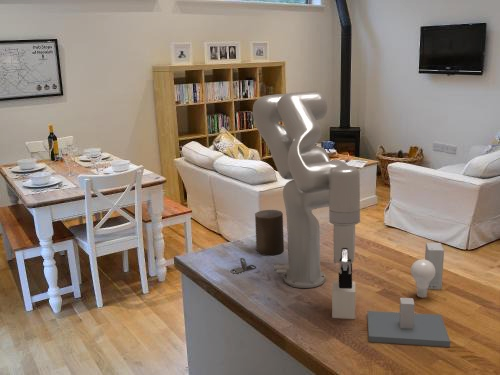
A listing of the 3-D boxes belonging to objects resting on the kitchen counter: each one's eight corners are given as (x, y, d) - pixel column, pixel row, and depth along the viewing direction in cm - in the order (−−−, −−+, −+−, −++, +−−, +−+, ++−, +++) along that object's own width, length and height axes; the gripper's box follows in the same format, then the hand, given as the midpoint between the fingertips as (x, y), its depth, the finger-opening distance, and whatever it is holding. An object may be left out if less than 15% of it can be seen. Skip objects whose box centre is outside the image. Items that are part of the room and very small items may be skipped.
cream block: (332, 317, 128) (332, 291, 126) (332, 306, 134) (332, 281, 132) (355, 319, 127) (355, 292, 125) (354, 308, 132) (355, 282, 130)
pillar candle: (284, 255, 169) (283, 213, 166) (256, 256, 170) (254, 214, 166) (283, 245, 179) (282, 205, 175) (256, 246, 179) (254, 206, 175)
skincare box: (442, 290, 140) (444, 250, 137) (426, 289, 141) (428, 250, 138) (438, 280, 146) (440, 242, 143) (423, 279, 147) (425, 242, 144)
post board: (368, 341, 117) (369, 311, 115) (367, 316, 128) (367, 287, 126) (449, 347, 113) (451, 315, 111) (440, 320, 125) (442, 291, 123)
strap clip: (234, 276, 156) (233, 263, 155) (229, 272, 158) (229, 260, 157) (257, 269, 160) (256, 256, 159) (252, 265, 163) (251, 253, 162)
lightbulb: (431, 304, 132) (433, 266, 129) (407, 299, 136) (408, 262, 133) (436, 294, 137) (438, 257, 135) (413, 290, 141) (414, 254, 138)
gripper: (330, 206, 132) (332, 266, 136) (327, 226, 116) (329, 294, 119) (359, 206, 131) (360, 267, 134) (360, 226, 114) (361, 295, 118)
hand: (345, 279), depth 127 cm, fingers open, 9 cm apart
